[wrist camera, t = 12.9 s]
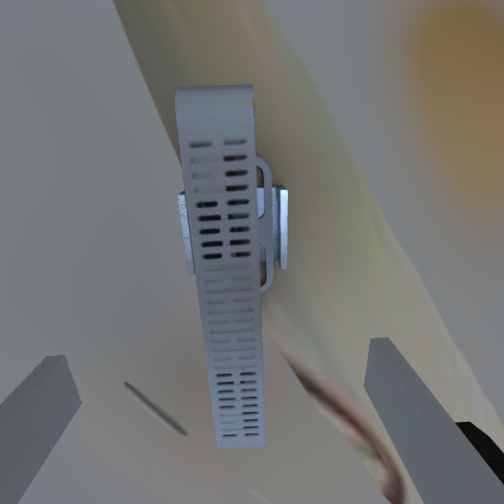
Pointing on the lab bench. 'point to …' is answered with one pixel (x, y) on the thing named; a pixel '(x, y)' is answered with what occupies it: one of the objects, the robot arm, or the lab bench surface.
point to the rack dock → (278, 217)
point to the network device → (228, 250)
